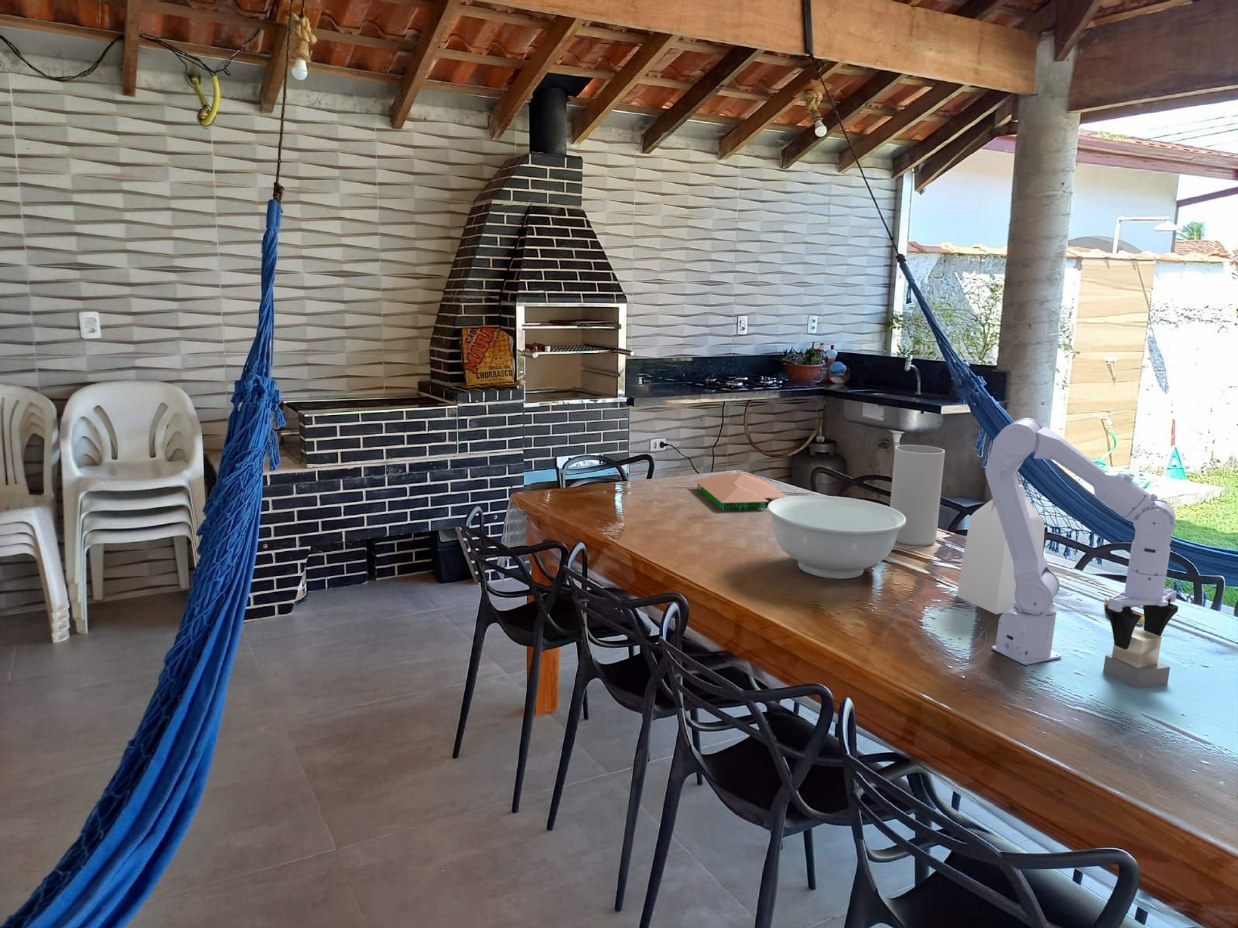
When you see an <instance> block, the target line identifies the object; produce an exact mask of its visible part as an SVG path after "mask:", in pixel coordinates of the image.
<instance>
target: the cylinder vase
mask: <svg viewBox="0 0 1238 928" xmlns="http://www.w3.org/2000/svg"><path fill="white" fill-rule="evenodd" d="M945 456H946V452H945V449H943V448H940V447H937V446H936V447H935V446H932V445H931V446H930V445H921V444H899V445H896V446H895V447H894V457H893V458H894V459H893V467H892V468H893V469H892V481H891V491H890V503H889V507H891V508H893V509H895V510H897V511H899V512H901V513H902V514H903V515H904V516H905V518H906V524H905V525H904V527H902V528H901V529H900V530H899V532H898V535H897V538H896V541H895V543H899V544H901V545H906V546H907V545H909V546H916V547H917V546H919V547H921V546H924V547H925V546H930V545H933V544H934V543H935V542H936V541H937V535H938V534H937V533H938V527H939V525H938V523H939V514H940V504H941V496H942V495H941V493H942V485H943V475H944V465H945Z"/></svg>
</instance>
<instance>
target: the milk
mask: <svg viewBox="0 0 1238 928" xmlns="http://www.w3.org/2000/svg"><path fill="white" fill-rule="evenodd" d="M1019 485H1020V488H1021V492H1022V495H1023V498H1024V501H1025V504H1026V507H1027V510H1028V514H1029V517H1030V520H1031V523H1032V526H1033V529H1034V532H1035V536H1036V539H1037V542H1038V545H1039V548H1040V551H1041V554H1042V555H1043V556H1044V542H1045V541H1044V540H1045V530H1046V529H1045V522H1044V521H1043V519H1042V517H1041V515H1040V514H1039V513H1038V511H1037V510H1036V508H1035V507H1034V505H1032V503H1031V502H1030V500H1029V499H1028V498H1027V494H1026V489H1025V486H1024V485H1022V484H1019ZM968 522H969V523H968V527H967V528H968V529H967V532H966V533H967V534H966V537H965V539H966V540H965V543H964V544H965V545H964V550H963V557H962V562H961V568H960V574H959V578H958V585H957V591H956V596H957V597H959V598H960V599H963V600H965V601H967V602H969V603H971V604H974V605H975V606H977V607H979V608H982V609H984V610H986V611H988V612H991V613H993V615H994V614H995V615H998V614H1004V613H1005V612H1008V611H1010V610H1011V609H1012V607H1013V605H1014V602H1015V596H1014V594H1015V589H1016V583H1015V579H1014V563H1013V559H1012V556H1011V553H1010V550H1009V547H1008V543H1007V540H1006V537H1005V534H1004V531H1003V528H1002V525H1001V521H1000V518H999V515H998V512H997V509H996V506H995V502H994V499H993V498H992V499H990V500H989V501H988V502H986V503H985V504H983V505H981V506H980V507H979V508H978V509H976V510H975V511H973V513H972V514H971V516H970V517H969V521H968Z"/></svg>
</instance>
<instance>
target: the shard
mask: <svg viewBox="0 0 1238 928" xmlns="http://www.w3.org/2000/svg"><path fill="white" fill-rule="evenodd" d="M1106 604H1109V599H1106V598H1104V606H1105V605H1106ZM1131 610H1132V611H1133V613H1135V614H1138V615H1140V616H1142V617H1141V618H1140V619H1139V621H1138V622H1137V623H1138V624H1140V625H1142V624H1144V613H1142V612H1139V611H1138V610H1137V611H1136V610H1134V609H1132V608H1131ZM1107 618H1108V617H1107ZM1108 620H1109V618H1108Z"/></svg>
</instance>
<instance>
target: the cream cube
mask: <svg viewBox="0 0 1238 928" xmlns="http://www.w3.org/2000/svg"><path fill="white" fill-rule="evenodd" d="M1161 644H1162V636H1161V637H1160V636H1158V635H1155V634H1153V633H1150V632H1147V631H1145V630H1144V629H1143V628H1139V627H1137V626H1135V628H1134V631H1133V633H1132V637H1131V641H1130V645H1129V647H1128V649H1122V648H1120V647H1117V646H1115V644H1114V643H1113V647H1112V653H1111V654H1112V657H1114V658H1116V659H1118V660H1121V661H1123V662H1125V663H1127V664H1130V665H1132V666H1134V667H1137V668H1141V667H1146V666H1150V665H1154V664H1157V663H1158V662H1159V655H1160V652H1161V651H1160V650H1161V646H1162V645H1161Z"/></svg>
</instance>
